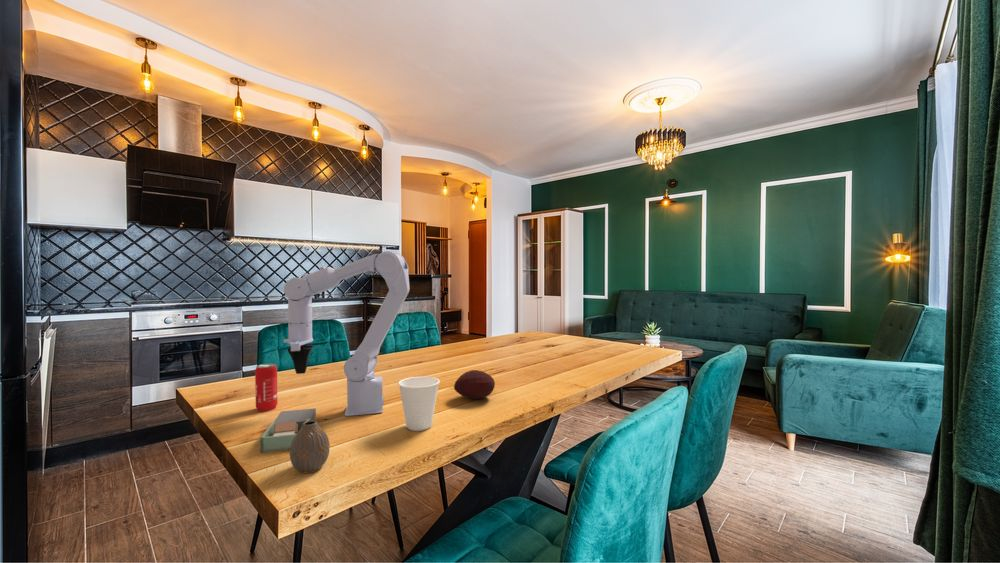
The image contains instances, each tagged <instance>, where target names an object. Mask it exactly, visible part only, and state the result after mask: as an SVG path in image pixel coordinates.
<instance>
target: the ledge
mask: <svg viewBox="0 0 1000 563" xmlns="http://www.w3.org/2000/svg"><path fill="white" fill-rule="evenodd" d="M316 418H317V408H316V407H315V408H314V407H313V408H305V409H292V410H283V411H282V410H281V411H280V413H278V415H277V417H276V418H275V419H274V421H273V422H275V424H276V423H286V422H296V423H297V424H298V431H299V430H300V429H301V427H302V425H303V423H304V422H306V420H307V419H310V421H316Z"/></svg>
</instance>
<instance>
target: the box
mask: <svg viewBox="0 0 1000 563" xmlns="http://www.w3.org/2000/svg"><path fill="white" fill-rule="evenodd" d="M307 421H310V419H307V420H306V422H307ZM274 431H275V422H274V421H271V423H270V424H269V426H268V427H267V428H266V429H265V431H264V432H263V434H262V435H261V436H260V438H259V448H260V449H259V452H260V454H262V453H269V452H271V453H272V452H280V451H288V450H289V451H290V446H291V443H292V440H293V438H294V437H295V435H296V434H297V433H296V434H289V435H279V436H273V435H274V434H275V432H274ZM298 432H299V431H298Z"/></svg>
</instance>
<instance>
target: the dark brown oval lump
mask: <svg viewBox="0 0 1000 563" xmlns="http://www.w3.org/2000/svg"><path fill="white" fill-rule="evenodd" d="M495 385H496V383H495V379H494V378H493V377H492V376H491V374H489V373H487V372H485V371H482V370H476V369H474V370H473V369H471V370H469V371H466V372H465V371H464V373H463V374H461V375H460V376H459V377H458V378H457V379H456V381H455V382H454V385H453V389H454V390H455V392H456V393H457V394H459V395H460V396H462V397H463V398H467V399H469V400H480V399H483V398H486V397H488V396H490V395H491V394H492V393H493V391H494V390H495Z"/></svg>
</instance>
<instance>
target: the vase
mask: <svg viewBox="0 0 1000 563" xmlns="http://www.w3.org/2000/svg"><path fill="white" fill-rule="evenodd" d="M330 447H331V446H330V440H329V437H328V435H327V433H326V432H325V431H324V430H323V428H321V426H320V425H319V423H318V422H317V420H315V421H307V422H304V423H303V425H302V427H301V429H300V430H299V432H298V433H297V434H296V435H295V437H294V438H293V440H292V443H291V446H290V450H289V459H290V463H291V465H292V468H294V469H295V470H296V471H297V472H299V473H301V474H310V473H314V472H317V471H318V470H320V469H322V467H323V466H324V465H325V464H326V462H327V460H328V458H329V456H330Z"/></svg>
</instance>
